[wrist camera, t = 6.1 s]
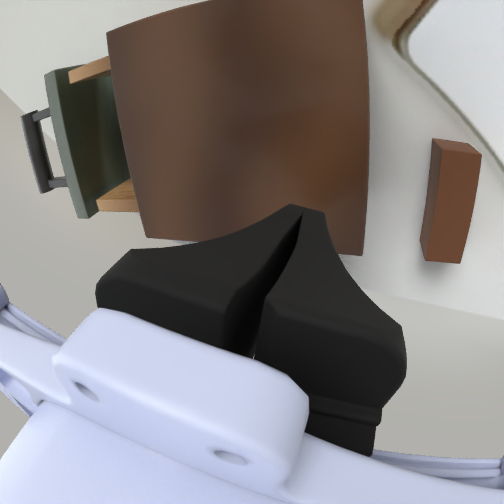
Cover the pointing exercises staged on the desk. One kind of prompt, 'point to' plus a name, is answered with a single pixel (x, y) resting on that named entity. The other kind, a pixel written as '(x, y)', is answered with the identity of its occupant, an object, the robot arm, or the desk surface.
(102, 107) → the drawer
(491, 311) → the desk surface
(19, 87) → the desk surface
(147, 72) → the cabinet
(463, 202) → the brown long block
